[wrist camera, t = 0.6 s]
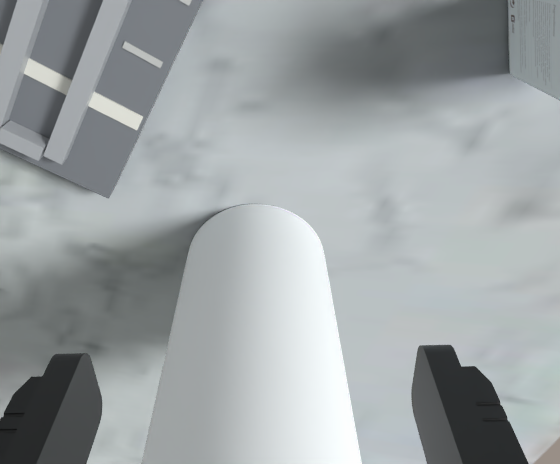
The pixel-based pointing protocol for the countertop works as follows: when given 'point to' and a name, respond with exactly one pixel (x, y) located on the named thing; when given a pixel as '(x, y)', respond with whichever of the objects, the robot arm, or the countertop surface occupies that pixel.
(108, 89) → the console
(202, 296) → the tall pillar cylinder
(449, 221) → the countertop surface
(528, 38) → the skincare box
